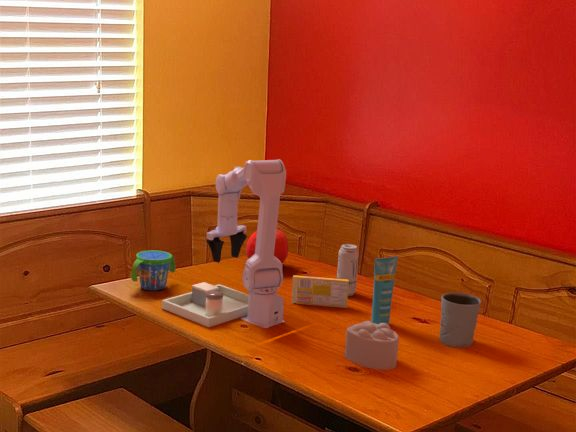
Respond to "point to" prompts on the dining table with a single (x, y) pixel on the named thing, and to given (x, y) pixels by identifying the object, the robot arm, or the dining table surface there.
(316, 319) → the dining table surface
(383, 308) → the tube
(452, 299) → the grey tapered cup
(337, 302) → the candy box
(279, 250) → the tomato
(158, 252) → the snack cup
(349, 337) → the lumpy-topped squat cylinder
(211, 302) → the jar
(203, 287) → the pale pink block
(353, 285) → the energy drink can
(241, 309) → the white square tray
